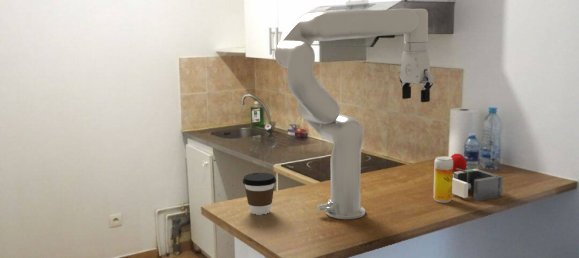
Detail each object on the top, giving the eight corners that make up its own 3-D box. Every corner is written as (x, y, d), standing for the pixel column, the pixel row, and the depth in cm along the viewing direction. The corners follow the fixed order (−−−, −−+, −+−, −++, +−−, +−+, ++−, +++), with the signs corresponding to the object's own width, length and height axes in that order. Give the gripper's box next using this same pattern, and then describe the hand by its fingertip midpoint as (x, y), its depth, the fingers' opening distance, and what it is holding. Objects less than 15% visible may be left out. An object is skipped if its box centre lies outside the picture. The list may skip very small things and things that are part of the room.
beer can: (452, 203, 187) (454, 160, 184) (433, 202, 188) (435, 159, 185) (450, 198, 193) (452, 156, 190) (432, 197, 194) (434, 155, 191)
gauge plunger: (464, 197, 189) (464, 176, 188) (445, 190, 198) (445, 169, 197) (476, 195, 192) (477, 174, 190) (457, 188, 200) (457, 167, 199)
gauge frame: (477, 201, 189) (478, 180, 188) (453, 191, 200) (454, 171, 198) (501, 196, 194) (502, 175, 192) (476, 187, 204) (477, 168, 203)
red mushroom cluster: (465, 184, 209) (466, 158, 207) (446, 182, 211) (447, 157, 209) (466, 177, 217) (467, 152, 215) (447, 176, 219) (448, 151, 218)
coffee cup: (239, 209, 185) (238, 174, 183) (270, 204, 189) (269, 170, 187) (249, 219, 175) (248, 182, 173) (281, 214, 179) (281, 178, 177)
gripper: (390, 47, 186) (390, 98, 189) (423, 49, 170) (423, 104, 174) (408, 46, 189) (408, 96, 192) (442, 47, 173) (442, 102, 177)
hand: (415, 100), depth 183 cm, fingers open, 9 cm apart
